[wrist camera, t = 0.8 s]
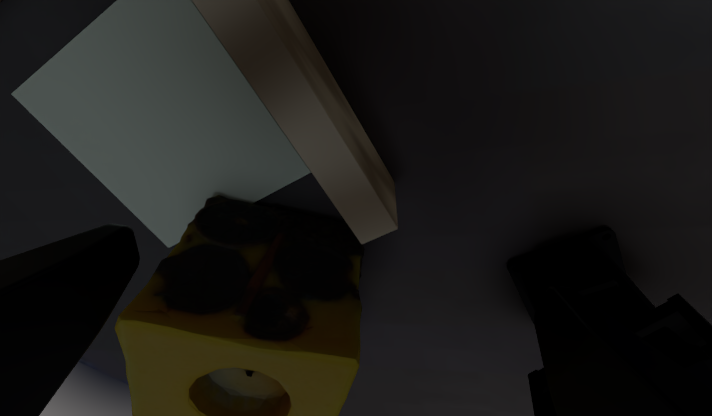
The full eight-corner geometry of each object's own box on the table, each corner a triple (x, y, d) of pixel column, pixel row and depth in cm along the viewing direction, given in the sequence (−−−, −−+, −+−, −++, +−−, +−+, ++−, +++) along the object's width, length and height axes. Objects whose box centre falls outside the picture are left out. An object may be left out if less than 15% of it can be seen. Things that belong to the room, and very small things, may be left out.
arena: (394, 181, 21) (398, 228, 17) (152, 297, 27) (110, 353, 23) (141, -254, 13) (21, -381, 8) (-123, 57, 19) (-269, 74, 15)
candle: (207, 300, 27) (130, 442, 19) (207, 189, 22) (100, 315, 13) (337, 325, 28) (320, 472, 19) (367, 223, 23) (362, 363, 14)
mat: (311, 171, 21) (310, 172, 21) (170, 246, 25) (168, 247, 24) (165, -40, 16) (162, -41, 16) (14, 93, 20) (11, 94, 19)
